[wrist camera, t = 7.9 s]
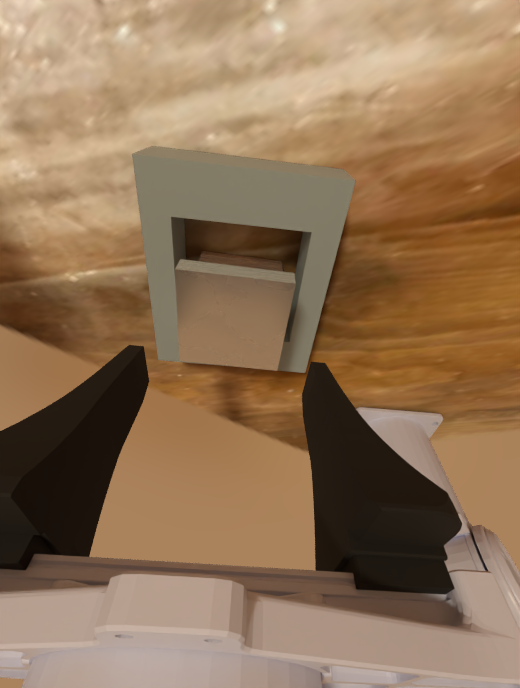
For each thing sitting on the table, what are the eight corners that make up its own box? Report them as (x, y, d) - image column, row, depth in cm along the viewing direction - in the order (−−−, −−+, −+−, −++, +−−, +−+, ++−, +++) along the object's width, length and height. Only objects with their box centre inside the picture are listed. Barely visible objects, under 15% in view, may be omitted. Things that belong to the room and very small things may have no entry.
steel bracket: (274, 301, 22) (277, 370, 16) (202, 293, 21) (179, 360, 16) (287, 228, 19) (295, 283, 13) (202, 217, 18) (175, 268, 13)
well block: (301, 345, 24) (305, 372, 22) (169, 333, 23) (158, 359, 21) (343, 169, 17) (355, 180, 14) (152, 146, 16) (132, 153, 14)
